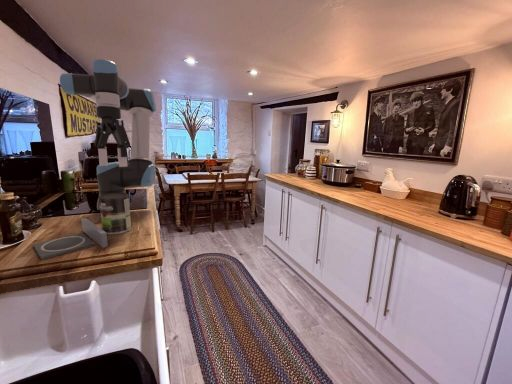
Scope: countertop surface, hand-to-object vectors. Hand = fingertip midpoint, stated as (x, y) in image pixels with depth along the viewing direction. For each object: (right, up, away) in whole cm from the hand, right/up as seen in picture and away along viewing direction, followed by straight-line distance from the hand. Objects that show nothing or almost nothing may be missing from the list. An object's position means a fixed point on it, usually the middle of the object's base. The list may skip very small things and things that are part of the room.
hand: (113, 166), depth 93 cm
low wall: (-6, -27, -2) cm, 27 cm away
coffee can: (-2, -25, +7) cm, 26 cm away
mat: (-12, -28, -8) cm, 31 cm away
